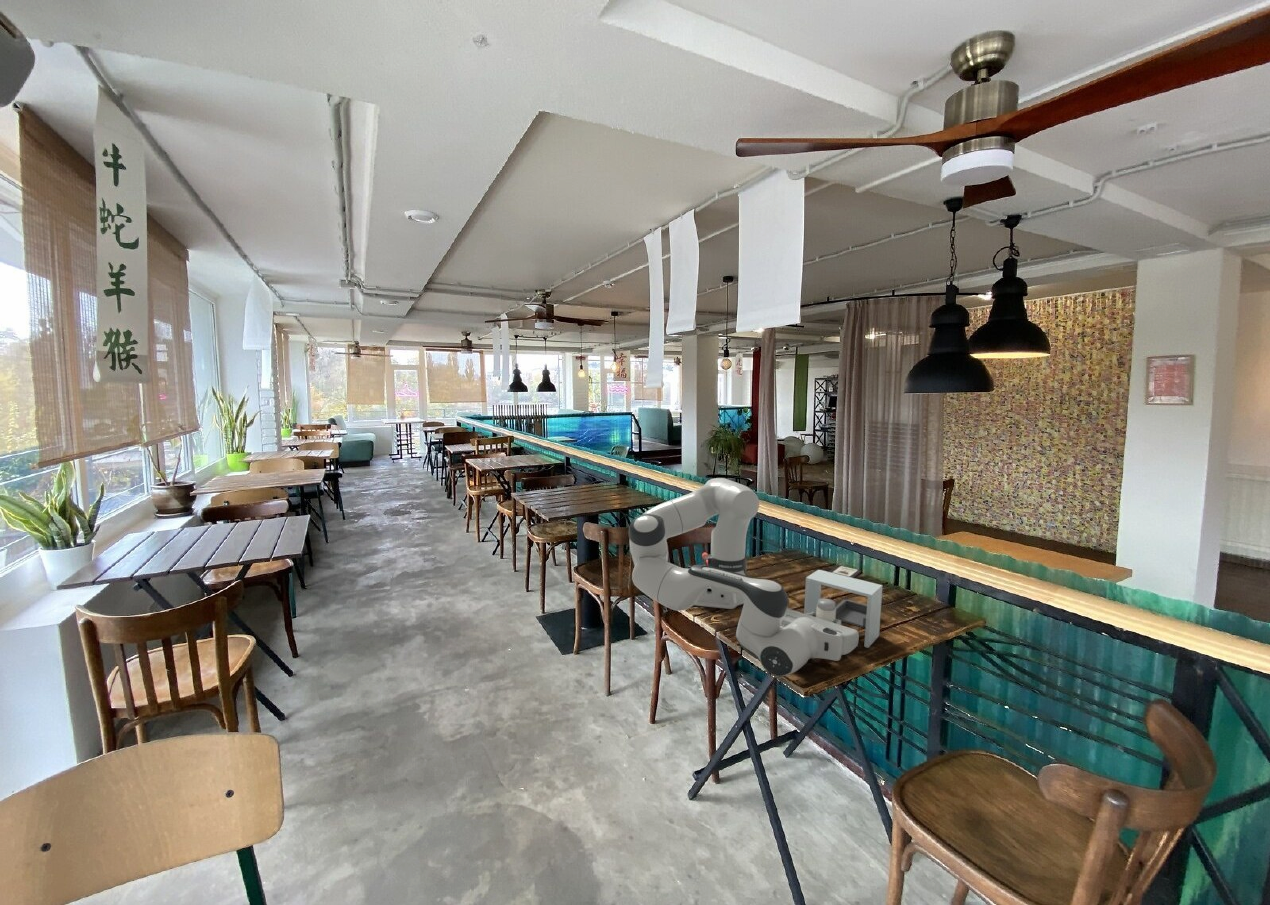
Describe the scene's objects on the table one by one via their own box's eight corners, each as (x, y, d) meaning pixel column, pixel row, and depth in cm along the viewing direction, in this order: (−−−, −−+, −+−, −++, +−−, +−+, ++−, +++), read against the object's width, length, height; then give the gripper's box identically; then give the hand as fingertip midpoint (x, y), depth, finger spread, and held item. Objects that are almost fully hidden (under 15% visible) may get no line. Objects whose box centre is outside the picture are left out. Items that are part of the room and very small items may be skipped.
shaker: (818, 645, 134) (820, 605, 132) (812, 636, 138) (814, 597, 137) (836, 645, 133) (839, 605, 132) (830, 637, 138) (832, 598, 137)
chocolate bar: (819, 577, 185) (837, 565, 198) (819, 580, 185) (837, 567, 198) (844, 584, 179) (861, 570, 192) (844, 586, 179) (861, 573, 192)
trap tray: (866, 628, 147) (867, 619, 146) (831, 618, 153) (832, 608, 153) (877, 617, 154) (878, 608, 154) (844, 607, 161) (844, 598, 160)
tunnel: (868, 647, 136) (871, 594, 134) (803, 626, 148) (805, 577, 146) (879, 635, 142) (882, 585, 141) (816, 616, 154) (818, 569, 153)
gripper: (765, 635, 133) (789, 617, 143) (845, 663, 119) (865, 642, 129) (766, 612, 132) (790, 596, 142) (847, 638, 118) (866, 619, 129)
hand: (826, 618), depth 136 cm, fingers closed on shaker, 5 cm apart
